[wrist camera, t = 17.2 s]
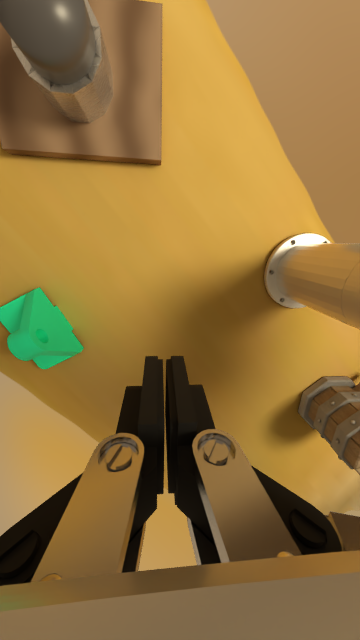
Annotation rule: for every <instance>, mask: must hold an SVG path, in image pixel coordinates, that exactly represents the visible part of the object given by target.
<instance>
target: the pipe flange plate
mask: <svg viewBox="0 0 360 640" xmlns="http://www.w3.org/2000/svg"><path fill="white" fill-rule="evenodd" d="M84 1H85V4H86V8H87V11H88V14H89V17H90V21H91V24H92V27H93V31H94V36H95V55H94V60H93V63H92V66H91V68H90V70H89V71H88V73H87V74H86V75H85V77H84V78H82V79H81V80H80V81H78V82H76V83H74V84H70V85H60V84H55V83H52V82H50V81H48V80H47V79H45V78H44V77H42V76H41V75H40V74H39V73H38V72H37V71H36V70H35V69H34V68H33V67H32V66H31V64H30V63H29V62H28V60H27V59H26V58H25V56H24V55H23V53H22V52H21V51H20V49H19V48H18V47H17V45H16V44H15V42H14V41H13V40H12V38H11V37H10V35H9V34H8V33H7V31H6V30H5V29H4V27H3V26H2V24H1V23H0V140H1V145H2V149H4V150H5V151H7V152H9V153H10V154H14V155H28V156H42V157H57V158H71V159H85V160H99V161H114V162H128V163H142V164H156V165H161V114H162V4H161V3H153V2H146V1H139V0H84Z"/></svg>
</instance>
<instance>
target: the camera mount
mask: <svg viewBox="0 0 360 640" xmlns="http://www.w3.org/2000/svg"><path fill="white" fill-rule="evenodd" d="M0 321H1V323H2V324H3V325H4V326H5V327H6V329H7V330H8V331H9V332H10V333H11V334H10V335H9V336H8V339H7V344H8V347H9V349H10V351H11V353H12V354H13V355H14V356H15V357H17V358H18V359H20V360H23V361H29V360H31V359H33V361H34V362H35V363H36V364H37V365H38V367H40V368H41V369H48V368H50V367H52V366H54V365H56V364H58V363H60V362H62V361H64V360H66V359H68V358H70V357H72V356H74V355H76V354H78V353H80V352H81V351H82V350H83V349H84V348H83V346H82V345H81V343H80V342H79V341H78V339H77V338H76V337H75V335H74V334H73V332H72V330H73V328H72V326H71V325H70V324H69V322H68V321H67V319H66V318H65V317H64V315H63V314H62V312H61V311H60V310H59V308H58V307H57V306H55V307H54V306H53V305H52V303H51V302H50V301H49V299H48V298H47V297H46V295H45V294H44V292H43V291H42V290H41V288H40V287H39V288H37V289H34V290H32V291H31V292H29V293H27V294H25V295H23V296H21V297H19V298H17V299H15V300H13V301H12V302H10V303H8V304H6V305H4V306H2V307H0Z"/></svg>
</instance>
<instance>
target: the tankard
mask: <svg viewBox="0 0 360 640" xmlns="http://www.w3.org/2000/svg"><path fill="white" fill-rule="evenodd" d="M298 413H299V414H300V415H301V417H302V418H303V419H304V420H305V421H306V422H307V423H308V424H309V425H310V426H311V427H312V428H313V429H317V431H318V432H319V433H320V434H321V437H322V438H325V440H326V441H327V442H328V443H329V444H330V445H331V447H332V449H333V450H334V451H335V452H336V453H337V455H338V458H339V459H340V460H343V461H344V462H345V463H346V464H347V465H348V466H349V467H350V469H355V470H356V471H357V472H358V474H359V475H360V383H359V384H358V385H355V384H354V382H353V381H352V380H351V379H350V378H348V377H347V376H341V377H322V378H321V379H320V380H318V381H317V382H316V383H314V384H313V385H312V386H310V387H309V388H308V389H306V390H305V391H304V392H303V394H302V398H301V402H300V405H299V409H298Z"/></svg>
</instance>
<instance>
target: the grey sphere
mask: <svg viewBox="0 0 360 640" xmlns="http://www.w3.org/2000/svg"><path fill="white" fill-rule="evenodd" d="M0 23H1V24H2V26H3V27H4V29H5V30H6V31H7V33H8V34H9V35H10V37H11V38H12V40H13V41H14V42H15V44H16V45H17V47H18V48H19V49H20V51H21V52H22V53H23V55H24V56H25V58H26V59H27V60H28V62H29V63H30V64H31V66H32V67H33V68H34V69H35V70H36V71H37V72H38V73H39V74H40V75H41V76H42V77H44V78H45V79H47V80H48V81H50V82H52V83H55V84H60V85H70V84H74V83H76V82H78V81H80V80H81V79H82V78H84V77H85V75H86V74H87V73H88V71H89V70H90V68H91V66H92V63H93V60H94V55H95V36H94V31H93V27H92V24H91V21H90V17H89V14H88V11H87V8H86V4H85V1H84V0H0Z"/></svg>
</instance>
